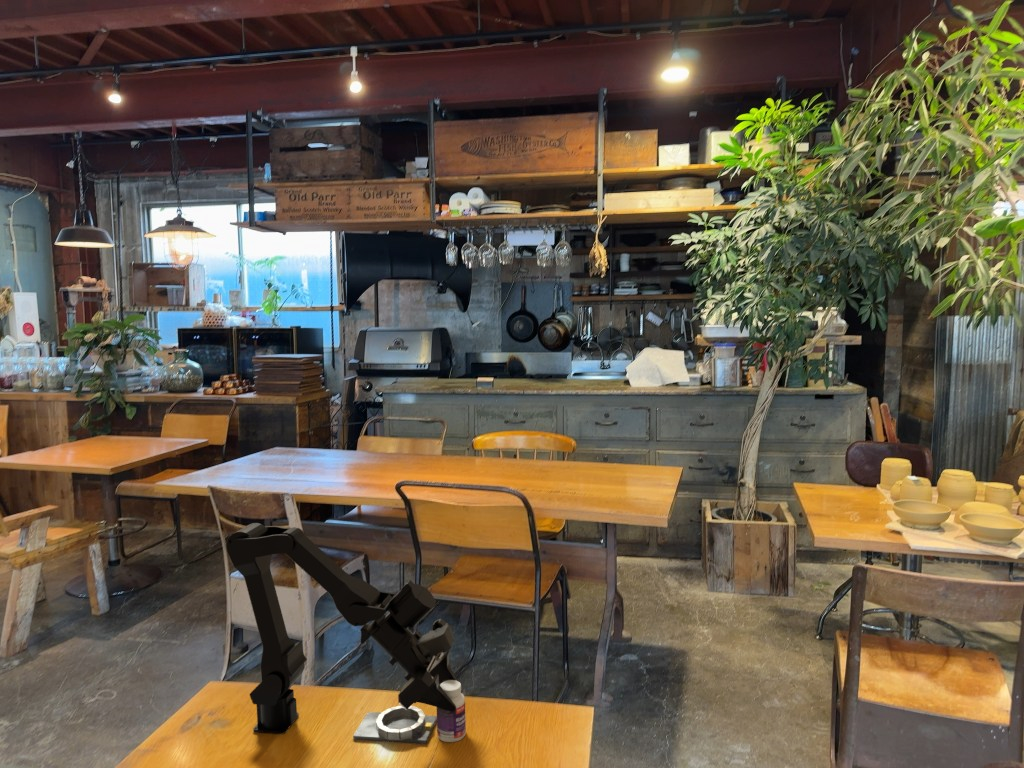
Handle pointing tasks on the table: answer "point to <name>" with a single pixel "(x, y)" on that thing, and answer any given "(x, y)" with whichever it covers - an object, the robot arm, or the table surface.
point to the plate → (370, 733)
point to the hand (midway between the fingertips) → (457, 701)
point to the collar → (406, 732)
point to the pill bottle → (452, 714)
